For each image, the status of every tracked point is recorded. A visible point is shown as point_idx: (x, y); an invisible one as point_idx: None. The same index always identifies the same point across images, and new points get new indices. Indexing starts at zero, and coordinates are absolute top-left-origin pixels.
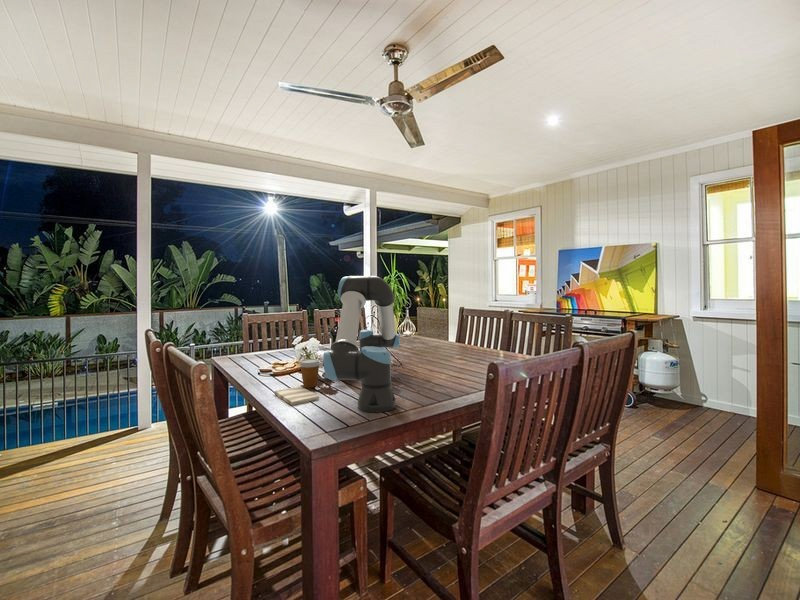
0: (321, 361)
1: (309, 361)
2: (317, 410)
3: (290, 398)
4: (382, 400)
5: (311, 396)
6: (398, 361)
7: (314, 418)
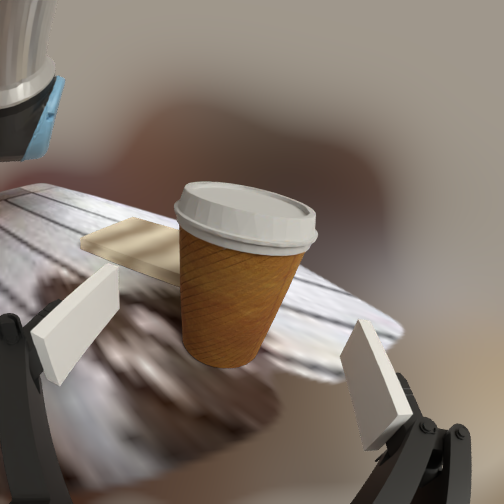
0: (449, 433)
1: (253, 202)
2: (62, 218)
3: (151, 225)
4: None
5: (101, 234)
6: None
7: (58, 205)
